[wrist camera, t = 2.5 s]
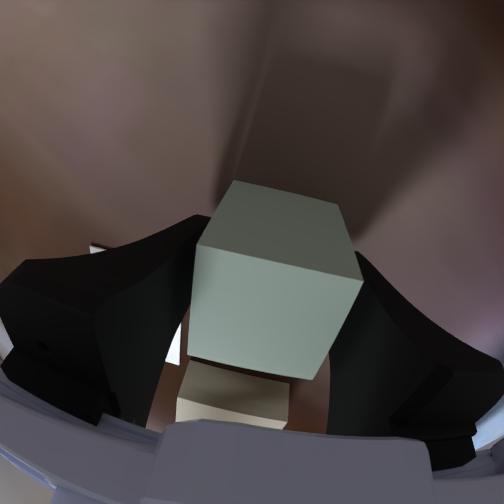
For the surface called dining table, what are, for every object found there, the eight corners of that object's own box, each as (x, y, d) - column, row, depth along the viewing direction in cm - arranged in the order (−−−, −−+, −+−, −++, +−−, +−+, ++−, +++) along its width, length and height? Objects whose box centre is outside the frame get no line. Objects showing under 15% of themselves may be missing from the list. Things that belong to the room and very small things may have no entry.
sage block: (337, 204, 11) (363, 281, 7) (308, 287, 13) (312, 380, 9) (233, 179, 11) (196, 244, 7) (219, 267, 13) (187, 354, 9)
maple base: (289, 379, 17) (287, 422, 15) (264, 422, 20) (260, 456, 18) (191, 356, 17) (177, 397, 14) (185, 403, 20) (174, 437, 18)
